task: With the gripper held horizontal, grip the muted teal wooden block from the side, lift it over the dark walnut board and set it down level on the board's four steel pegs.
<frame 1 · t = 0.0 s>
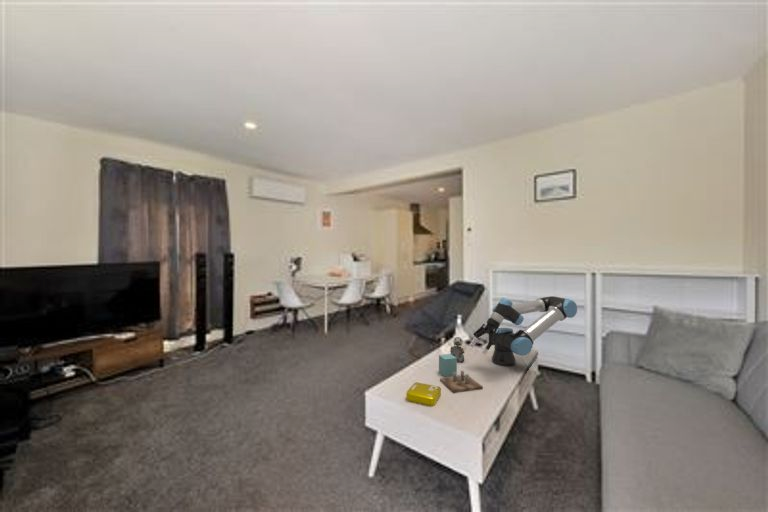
hand: (477, 349, 195), 15 cm above the table, tool tilted 35°, fingers open, 13 cm apart
figurine: (457, 360, 220), on the table
peg board: (460, 384, 180), on the table
teal block: (447, 374, 196), on the table
element tile: (423, 398, 166), on the table
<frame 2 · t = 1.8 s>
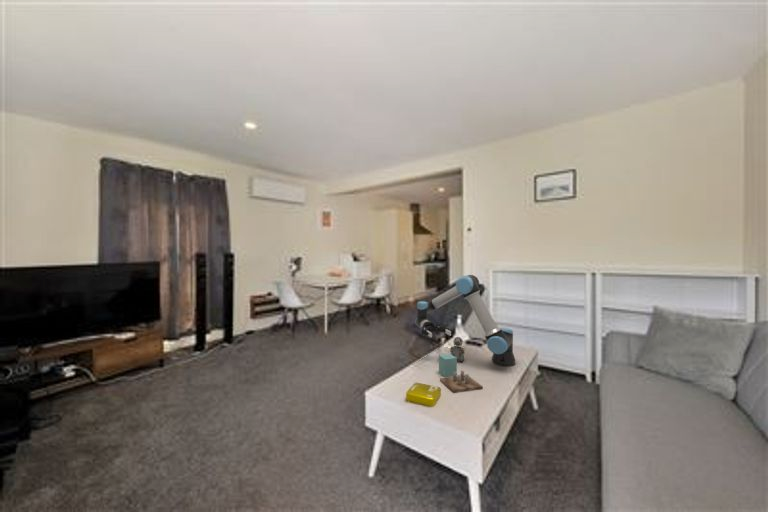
hand: (441, 334, 204), 22 cm above the table, tool horizontal, fingers open, 13 cm apart
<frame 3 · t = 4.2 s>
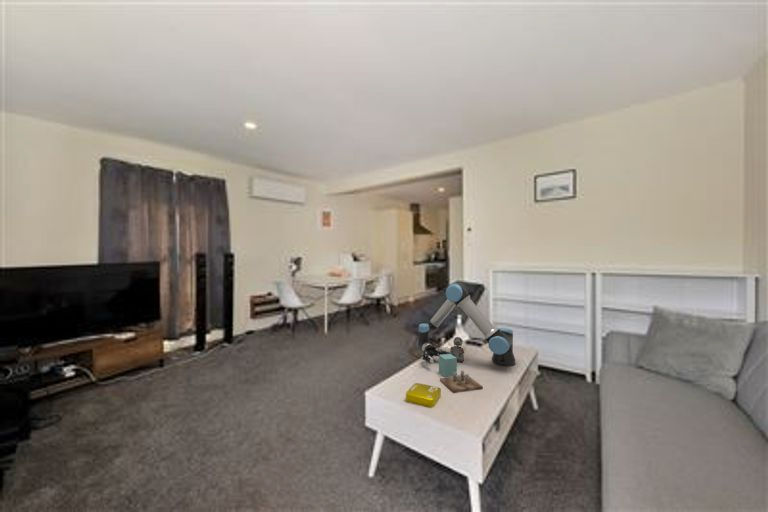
hand: (442, 360, 201), 6 cm above the table, tool horizontal, fingers open, 13 cm apart
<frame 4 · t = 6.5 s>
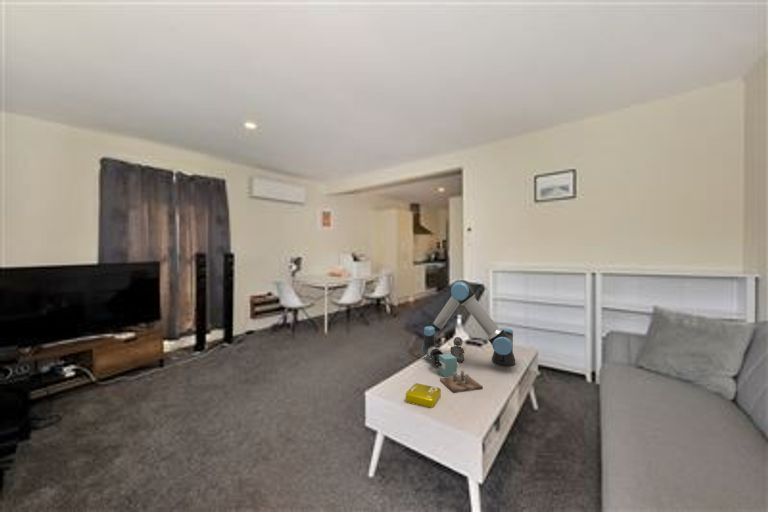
hand: (451, 366, 191), 7 cm above the table, tool horizontal, fingers closed on teal block, 8 cm apart
teal block: (447, 374, 196), on the table, touching gripper
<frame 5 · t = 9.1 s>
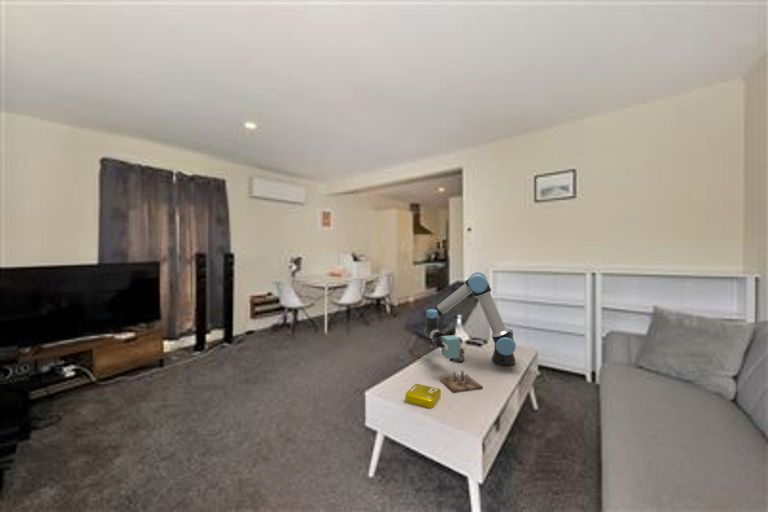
hand: (454, 347, 185), 20 cm above the table, tool horizontal, fingers closed on teal block, 8 cm apart
teal block: (450, 355, 190), point 13 cm above the table, touching gripper
when the fingers open (14 cm above the table, at t = 11.7 s): teal block stays where it is, resting on peg board.
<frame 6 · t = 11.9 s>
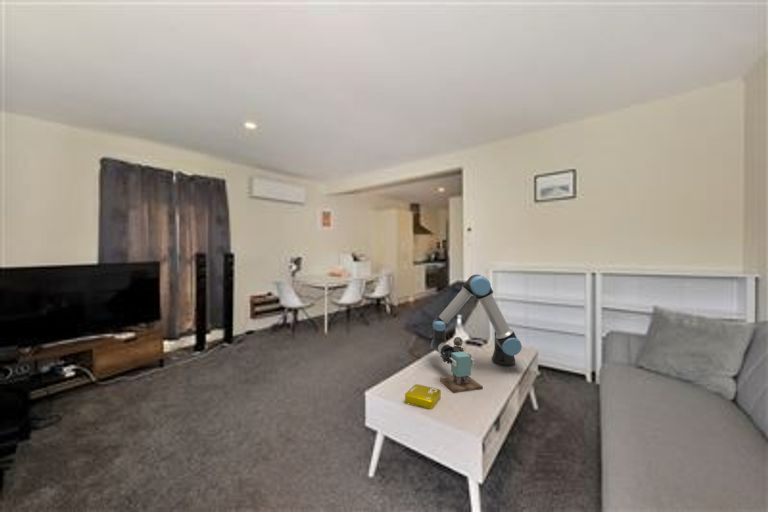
hand: (464, 363, 176), 14 cm above the table, tool horizontal, fingers open, 10 cm apart
teal block: (460, 373, 180), point 6 cm above the table, touching peg board
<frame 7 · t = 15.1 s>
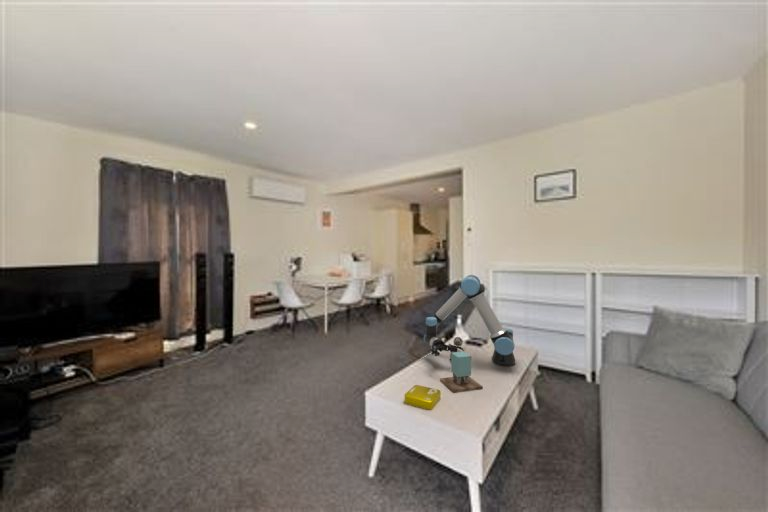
hand: (453, 355, 189), 14 cm above the table, tool horizontal, fingers open, 13 cm apart
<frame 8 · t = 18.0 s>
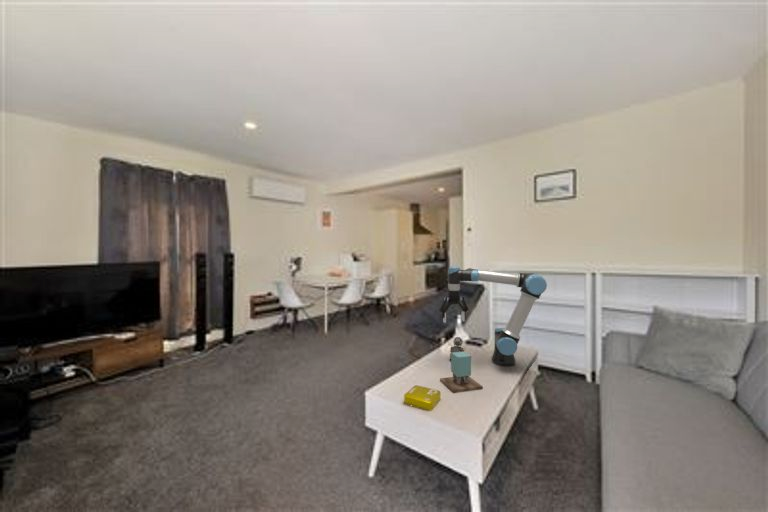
hand: (453, 321, 211), 29 cm above the table, tool pointing down, fingers open, 13 cm apart
at the end: teal block 0.1 cm off-centre on the peg board, point 6.5 cm above the peg board's base; teal block tilted 0°; the gripper is holding nothing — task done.
